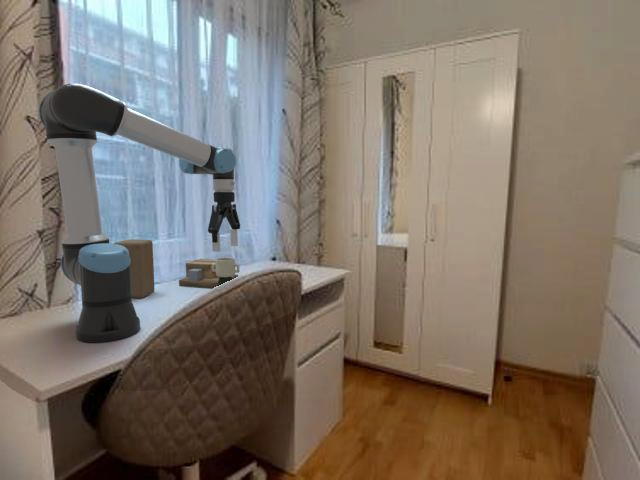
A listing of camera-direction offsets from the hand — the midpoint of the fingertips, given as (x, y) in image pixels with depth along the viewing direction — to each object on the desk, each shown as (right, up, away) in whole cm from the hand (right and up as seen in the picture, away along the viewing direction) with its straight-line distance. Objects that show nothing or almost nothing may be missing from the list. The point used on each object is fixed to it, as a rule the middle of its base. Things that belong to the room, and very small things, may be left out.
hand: (225, 248), depth 143 cm
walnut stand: (-11, -15, +17) cm, 25 cm away
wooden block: (-32, -17, -2) cm, 37 cm away
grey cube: (-15, -13, +12) cm, 23 cm away
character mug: (0, -17, +2) cm, 17 cm away
